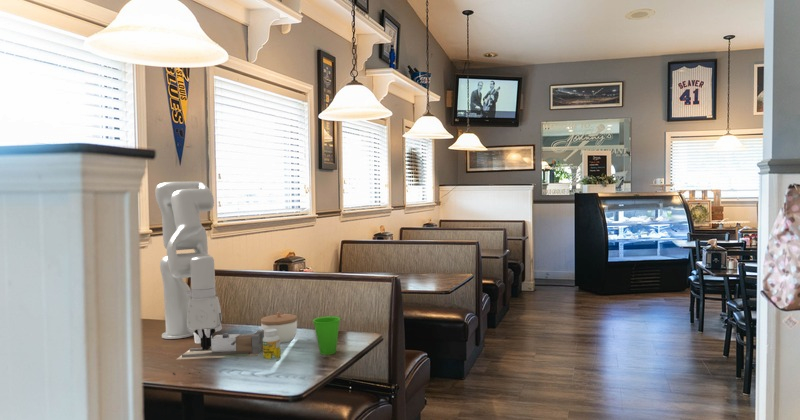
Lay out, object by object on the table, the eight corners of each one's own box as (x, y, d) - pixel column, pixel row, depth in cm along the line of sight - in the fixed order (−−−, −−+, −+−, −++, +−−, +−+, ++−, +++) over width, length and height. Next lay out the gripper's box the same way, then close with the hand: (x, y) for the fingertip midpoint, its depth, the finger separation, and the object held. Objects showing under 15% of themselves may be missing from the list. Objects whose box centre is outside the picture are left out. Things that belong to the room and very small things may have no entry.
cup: (324, 347, 189) (322, 315, 189) (347, 350, 185) (345, 317, 185) (308, 355, 181) (307, 321, 181) (332, 357, 177) (330, 323, 177)
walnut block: (241, 349, 186) (240, 334, 186) (255, 349, 186) (255, 334, 186) (236, 353, 181) (235, 338, 181) (251, 353, 181) (251, 338, 181)
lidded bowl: (255, 343, 199) (254, 312, 198) (287, 336, 207) (285, 307, 207) (272, 350, 189) (271, 317, 189) (304, 342, 197) (303, 311, 197)
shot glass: (207, 347, 196) (206, 327, 196) (189, 347, 197) (188, 327, 197) (217, 342, 203) (216, 323, 203) (200, 342, 204) (199, 323, 204)
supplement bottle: (283, 358, 179) (282, 328, 178) (275, 363, 174) (273, 332, 173) (269, 357, 180) (267, 327, 180) (260, 362, 175) (258, 331, 175)
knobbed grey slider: (216, 349, 186) (216, 332, 186) (240, 348, 186) (239, 331, 186) (209, 356, 179) (208, 338, 179) (234, 355, 179) (233, 337, 179)
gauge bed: (190, 352, 190) (189, 331, 190) (266, 349, 190) (265, 328, 190) (176, 363, 178) (174, 340, 178) (257, 359, 178) (256, 337, 178)
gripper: (176, 296, 180) (179, 353, 180) (222, 294, 180) (225, 351, 180) (185, 292, 187) (188, 346, 188) (229, 290, 187) (232, 345, 188)
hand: (206, 348), depth 184 cm, fingers closed
